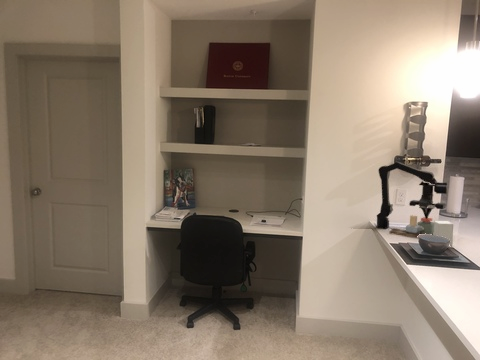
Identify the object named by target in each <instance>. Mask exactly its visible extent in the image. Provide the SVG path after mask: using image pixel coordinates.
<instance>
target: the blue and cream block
mask: <svg viewBox="0 0 480 360" xmlns="http://www.w3.org/2000/svg"><path fill="white" fill-rule="evenodd" d="M417 223H418V215H416V214H415V215H414V214H412V215H410V216H409V224H408V225H405V230H406V231H408V232H414V233H417V232H419V231H420V230H421V225H417Z"/></svg>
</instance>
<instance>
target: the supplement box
mask: <svg viewBox="0 0 480 360" xmlns="http://www.w3.org/2000/svg"><path fill="white" fill-rule="evenodd" d="M434 235H438V236H443V237H446V238H448V239H450V241H451V242H450V246H452V247H453V241H454V238H453V237H454V223H452V222H451V221H448V220H434V233H433V236H434Z"/></svg>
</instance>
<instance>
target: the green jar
mask: <svg viewBox="0 0 480 360" xmlns="http://www.w3.org/2000/svg"><path fill="white" fill-rule="evenodd" d="M417 225H421V230H422V229H423V230H424V233H426V234H425V235H430V234H432V235H434V222H433V221H430V224H426V223H423V221H421V220H420V221H417ZM419 232H420V231H419Z"/></svg>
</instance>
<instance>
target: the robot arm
mask: <svg viewBox="0 0 480 360" xmlns="http://www.w3.org/2000/svg"><path fill="white" fill-rule="evenodd" d="M394 170H401V171H403V172H405V173H407V174H411V175H412V176H415V177H417V178H418V179H420V180H421V182H420V183H419V184H418V186H422V190H421V197H420V199H418V200H416V199H413V200H410V201H409V204H408V206H411V207H415V206H419V207H418V208H419V209H421V210H422V212H423V213H422V214H423V215H424V217H425V218H426V219H427V218H429V216H430V214H431V212H432V210H434V209H438V210H444V209H446V203H445V202H437V203H434V201H433V198H434V193H435V194H437V195H438V194H439V195H440V194H441V195H448V190H449V188H448V182H440V181H439V182H438V180H437V179H436V178H435V174H434V172H432V171H427V170H423V169H418V168H415V167H413V166H410V165H408V164H404V163H403V162H400V161H396V162H394V163H392V164H389V165H387V164H385V165H382V166H380V167H379V168H378V175H379V178H380V180H381V181H380V183H381V184H380V185H381V206H380V210H379V213H378V214H376V226H375V228H379V229H388V228H390V220H389V219H390V218H389V216H390V215H391V214H392V213H393V211H394V207H393V204H391V202H390V187H389V186H390V185H389V184H390V183H389V180H390V175H391V172H392V171H394Z"/></svg>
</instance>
